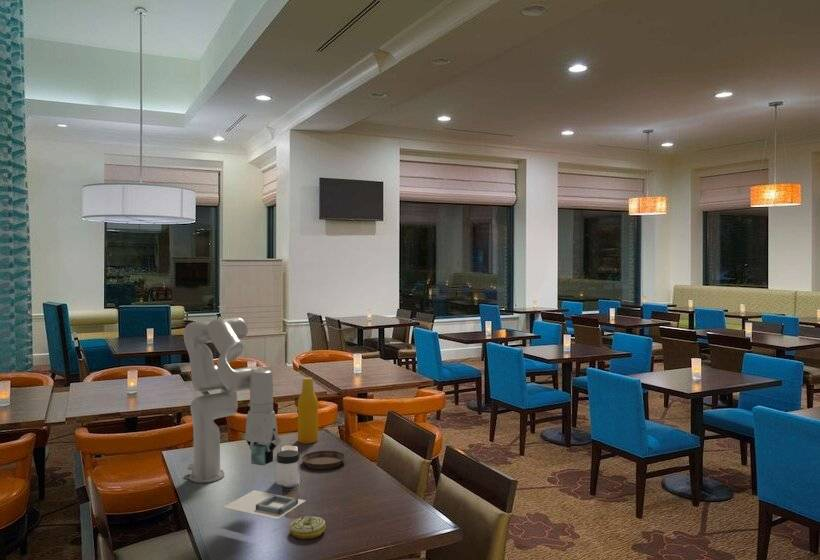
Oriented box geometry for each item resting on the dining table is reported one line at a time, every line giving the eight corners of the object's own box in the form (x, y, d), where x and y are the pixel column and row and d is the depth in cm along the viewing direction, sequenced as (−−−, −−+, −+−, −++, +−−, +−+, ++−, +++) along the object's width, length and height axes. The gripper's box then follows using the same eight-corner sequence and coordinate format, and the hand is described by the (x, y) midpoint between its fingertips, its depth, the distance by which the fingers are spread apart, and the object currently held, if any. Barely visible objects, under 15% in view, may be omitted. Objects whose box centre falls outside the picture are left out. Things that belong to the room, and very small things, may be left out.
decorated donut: (300, 523, 187) (300, 511, 187) (331, 528, 184) (331, 516, 184) (283, 537, 178) (283, 525, 177) (315, 543, 174) (315, 530, 174)
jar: (280, 491, 213) (280, 458, 212) (272, 484, 219) (272, 452, 219) (303, 486, 218) (303, 454, 217) (295, 479, 224) (295, 448, 224)
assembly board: (222, 511, 195) (222, 502, 195) (253, 494, 210) (253, 486, 210) (277, 523, 187) (277, 514, 186) (306, 504, 201) (306, 496, 201)
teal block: (251, 463, 197) (251, 445, 197) (261, 459, 201) (260, 441, 201) (263, 465, 195) (263, 447, 195) (272, 461, 199) (272, 443, 199)
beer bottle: (307, 436, 280) (307, 375, 279) (322, 440, 274) (322, 377, 273) (293, 441, 272) (293, 378, 271) (307, 445, 267) (307, 381, 266)
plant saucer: (308, 456, 252) (308, 449, 252) (349, 457, 251) (349, 450, 251) (296, 470, 235) (296, 463, 235) (340, 472, 233) (340, 464, 233)
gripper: (233, 407, 198) (234, 461, 198) (275, 412, 191) (276, 468, 191) (248, 402, 205) (249, 454, 205) (289, 407, 198) (290, 461, 198)
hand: (262, 460), depth 198 cm, fingers closed on teal block, 5 cm apart
